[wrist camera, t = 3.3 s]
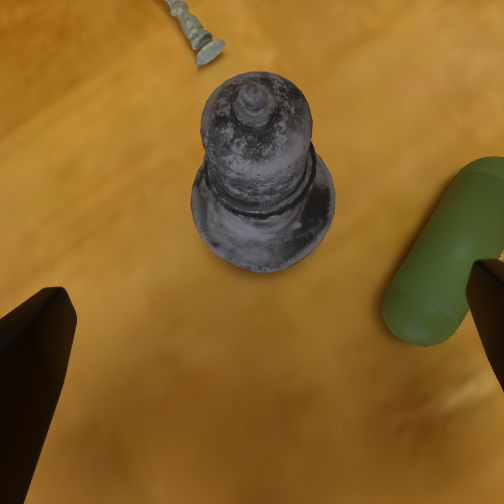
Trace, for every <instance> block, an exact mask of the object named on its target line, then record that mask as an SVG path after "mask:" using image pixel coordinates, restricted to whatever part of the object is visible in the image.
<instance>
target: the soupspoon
mask: <svg viewBox="0 0 504 504" xmlns="http://www.w3.org/2000/svg"><path fill="white" fill-rule="evenodd" d="M165 1H166V2H167V3H168V4H169V6H170V9H171V11H170V14H171V15H172V16H174V17H177V18H178V20H179V23H180V26H181V29H182V31H183V33H184V34H185V35H186V36H187V38H189V39H190V40H191V46H192V49H193V50H198V51H199V52H198V54H197V56H196V62H195V64H196V65H204V64H207V63H208V62H210V61H212V60H213V59H214V58H215V57H217V56H218V55H219V53H220V52H221V51H222V49H223V47H224V45H225V42H224V41H223V40H222V39H216V40H213V41H211V40H212V34H211V33H210V32H209V31H207V30H204V29H203V26H202V24H201V23H200V22H199V20H198V19H197V18H196V17H195V16H194V15H192V14H190V13H189V12H188V6H187V3H186V2H185V1H181V0H165Z"/></svg>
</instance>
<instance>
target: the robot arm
mask: <svg viewBox="0 0 504 504" xmlns="http://www.w3.org/2000/svg"><path fill="white" fill-rule="evenodd" d="M465 294H466V299H467V302H468V305H469V308H470V311H471V314H472V316H473V319H474V322H475V325H476V328H477V331H478V333H479V336H480V339H481V342H482V345H483V348H484V350H485V353H486V356H487V358H488V360H489V363H490V365H491V367H492V369H493V371H494V373H495V375H496V377H497V379H498V381H499V383H500V385H501V388H502V390H503V392H504V262H502V261H500V260H498V259H496V258H487V259H477V260H475V261H474V263H473V265H472V268H471V271H470V275H469V278H468V282H467V285H466V290H465ZM76 325H77V315H76V311H75V309H74V307H73V305H72V302H71V300H70V298H69V295H68V293H67V291H66V290H65V289H64V288H63V287H46V288H43V289H41V290H40V291H39V292H37V293H36V294H35V295H33V296H32V297H30V298H29V299H28V300H26V301H25V302H23V303H22V304H21V305H19V306H18V307H17V308H15V309H14V310H12V311H11V312H10V313H8V314H7V315H5V316H4V317H3V318H1V319H0V504H24V501H25V498H26V495H27V492H28V489H29V486H30V483H31V480H32V477H33V474H34V471H35V468H36V465H37V462H38V459H39V456H40V454H41V451H42V448H43V445H44V442H45V439H46V436H47V433H48V430H49V427H50V424H51V421H52V418H53V415H54V412H55V409H56V406H57V403H58V400H59V397H60V394H61V391H62V387H63V384H64V380H65V376H66V372H67V367H68V362H69V358H70V353H71V348H72V343H73V339H74V334H75V329H76Z"/></svg>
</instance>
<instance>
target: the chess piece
mask: <svg viewBox="0 0 504 504" xmlns="http://www.w3.org/2000/svg"><path fill="white" fill-rule="evenodd" d="M312 124H313V120H312V116H311V112H310V108H309V104H308V102H307V100H306V98H305V97H304V95H303V93H302V91H301V90H299V89H298V88H297V87H296V86H295V85H294V84H293V83H292V82H291V81H289V80H287V79H286V78H284V77H282V76H280V75H277V74H273V73H269V72H248V73H244V74H239V75H237V76H235V77H233V78H230V79H228V80H226V81H225V82H224V83H222V84H221V85H220V86H219V87H218V88H216V89H215V90H214V92H213V93H212V94H211V96H210V97H209V99H208V100H207V102H206V104H205V107H204V110H203V112H202V119H201V129H200V133H201V138H202V143H203V147H204V149H205V155H204V162H203V164H202V165H201V167H200V168H199V169H198V172H197V175H196V178H195V180H194V183H193V186H192V195H191V209H192V214H193V220H194V224H195V226H196V228H197V230H198V232H199V234H200V236H201V238H202V240H203V241H204V242H205V243H206V244H207V245H208V246H209V248H210V249H211V250H212V251H213V252H214V253H215V254H216V255H218V256H219V257H221V258H222V259H224V260H225V261H227V262H228V263H230V264H232V265H235V266H238V267H240V268H243V269H246V270H249V271H252V272H260V273H271V272H275V271H280V270H284V269H286V268H288V267H290V266H292V265H294V264H296V263H297V262H298V261H300V260H302V259H304V258H305V257H306V256H308V255H309V254H310V253H311V252H312V251H313V250H314V249H315V248H316V247H318V246H319V244H320V243H321V241H322V240H323V238H324V236H325V235H326V233H327V232H328V230H329V228H330V225H331V222H332V219H333V215H334V212H335V189H334V185H333V181H332V177H331V174H330V172H329V171H328V169H327V167H326V165H325V163H324V162H323V160H322V158H321V157H320V156H319V155H318V154H317V153H316V152H315V149H314V146H313V144H312V142H311V137H312Z"/></svg>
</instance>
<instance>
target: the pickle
mask: <svg viewBox="0 0 504 504" xmlns="http://www.w3.org/2000/svg"><path fill="white" fill-rule="evenodd" d="M503 250H504V157H496V156H494V157H484V158H481V159H477V160H475V161H473V162H471V163H469V164H468V165H466V166H465V167H464V168H462V169H461V170H460V171H459V173H458V174H457V175H456V176H455V178H454V180H453V181H452V183H451V185H450V186H449V188H448V189H447V191H446V193H445V194H444V196H443V198H442V199H441V201H440V203H439V204H438V206H437V208H436V209H435V211H434V212H433V214H432V216H431V217H430V219H429V221H428V222H427V224H426V226H425V227H424V229H423V231H422V232H421V234H420V235H419V237H418V239H417V240H416V242H415V244H414V245H413V247H412V249H411V250H410V252H409V254H408V255H407V257H406V259H405V260H404V262H403V263H402V265H401V267H400V268H399V270H398V272H397V273H396V275H395V277H394V278H393V280H392V282H391V283H390V285H389V286H388V288H387V290H386V292H385V294H384V297H383V301H382V312H383V317H384V320H385V322H386V325H387V326H388V328H389V329H390V331H391V332H392V333H393V334H394V335H395V336H396V337H397V338H399V339H400V340H402V341H404V342H406V343H408V344H411V345H415V346H422V347H427V346H434V345H437V344H440V343H442V342H444V341H446V340H447V339H449V338H450V337H451V336H452V335H453V334H454V333H455V332H456V330H457V329H458V327H459V326H460V324H461V322H462V321H463V319H464V317H465V315H466V314H467V312H468V310H469V309H470V308H469V305H468V302H467V299H466V294H465V290H466V285H467V282H468V278H469V275H470V271H471V268H472V265H473V263H474V261H475V260H477V259H487V258H496V259H499V257H500V255H501V253H502V252H503Z"/></svg>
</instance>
